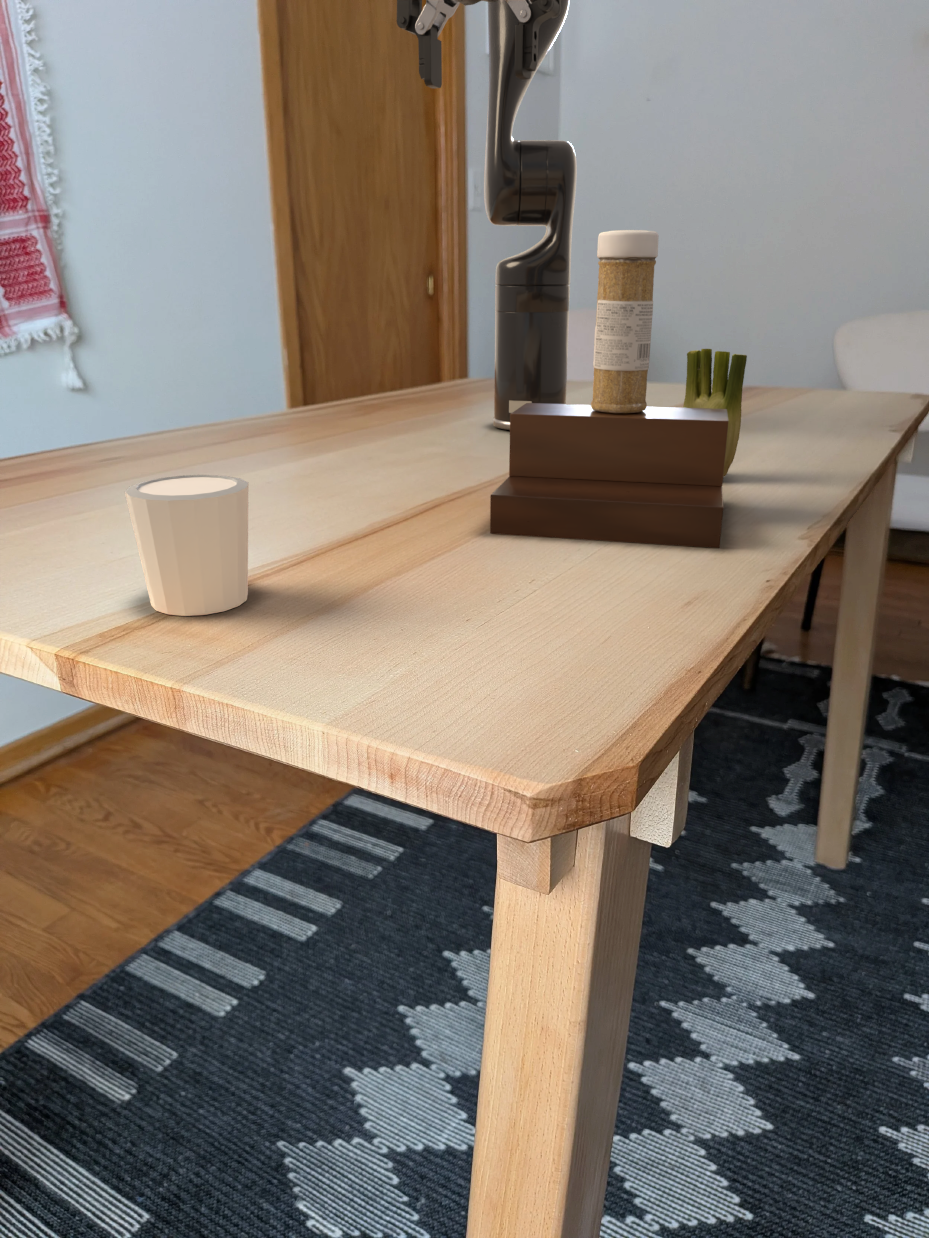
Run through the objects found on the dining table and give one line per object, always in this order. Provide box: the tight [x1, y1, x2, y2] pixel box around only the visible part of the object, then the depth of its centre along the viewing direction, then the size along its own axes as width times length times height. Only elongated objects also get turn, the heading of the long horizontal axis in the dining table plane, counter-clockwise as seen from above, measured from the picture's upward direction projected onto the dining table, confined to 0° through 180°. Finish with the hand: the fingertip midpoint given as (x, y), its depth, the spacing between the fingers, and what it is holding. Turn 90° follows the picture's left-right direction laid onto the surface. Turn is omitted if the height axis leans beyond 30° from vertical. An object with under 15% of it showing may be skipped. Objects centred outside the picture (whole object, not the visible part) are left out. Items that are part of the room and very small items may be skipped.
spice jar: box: [590, 229, 659, 414], centre depth 71 cm, size 5×5×13 cm
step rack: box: [489, 403, 729, 549], centre depth 72 cm, size 14×17×8 cm
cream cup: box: [124, 474, 249, 617], centre depth 54 cm, size 7×7×7 cm
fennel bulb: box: [682, 348, 748, 478], centre depth 86 cm, size 6×5×12 cm
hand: (476, 82), depth 79 cm, fingers open, 8 cm apart
